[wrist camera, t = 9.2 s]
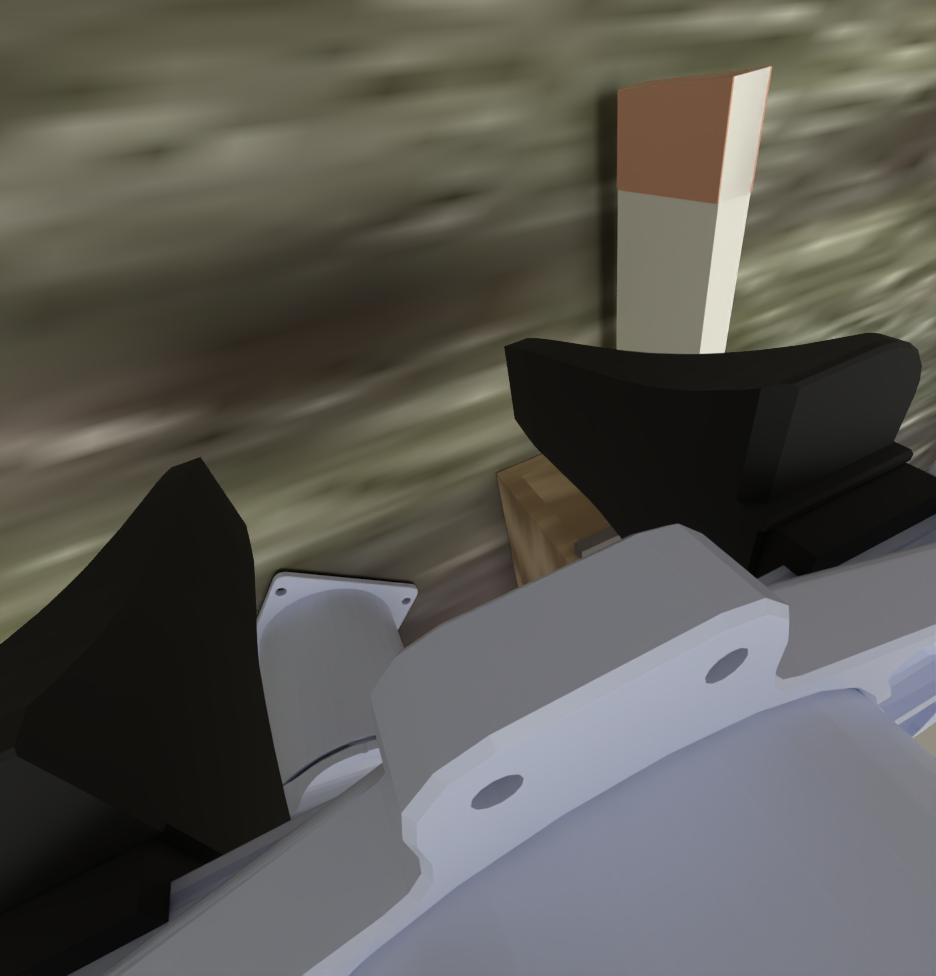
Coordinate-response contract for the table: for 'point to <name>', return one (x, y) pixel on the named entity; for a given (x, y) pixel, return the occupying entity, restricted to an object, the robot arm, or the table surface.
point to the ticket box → (548, 519)
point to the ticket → (684, 206)
